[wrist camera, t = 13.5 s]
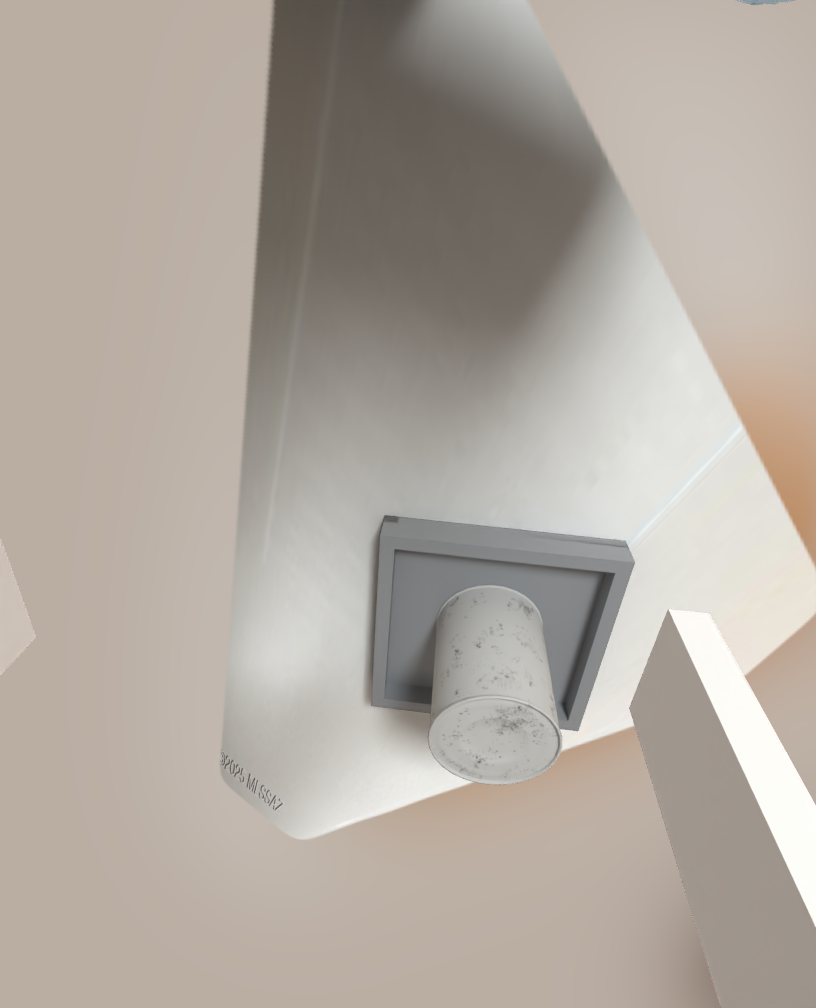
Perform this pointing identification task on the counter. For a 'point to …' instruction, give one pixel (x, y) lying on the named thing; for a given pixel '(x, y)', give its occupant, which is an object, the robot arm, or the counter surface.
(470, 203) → the counter surface
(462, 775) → the speckled white tin can
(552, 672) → the tray
